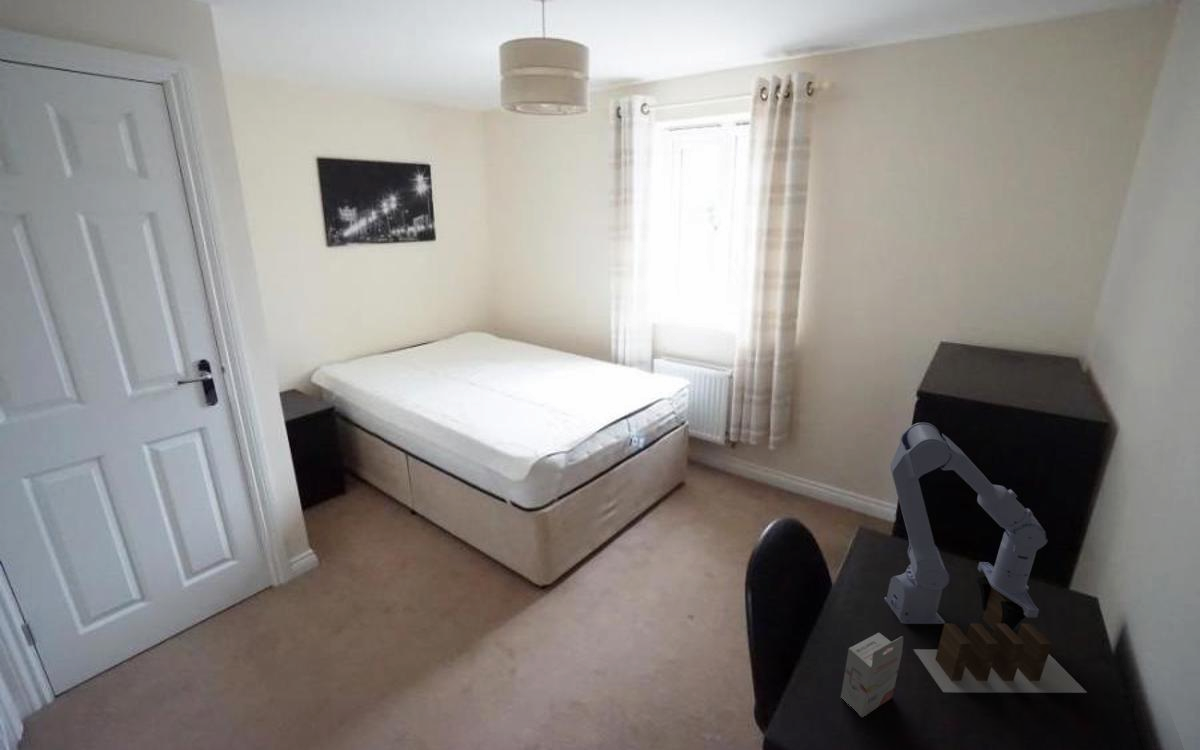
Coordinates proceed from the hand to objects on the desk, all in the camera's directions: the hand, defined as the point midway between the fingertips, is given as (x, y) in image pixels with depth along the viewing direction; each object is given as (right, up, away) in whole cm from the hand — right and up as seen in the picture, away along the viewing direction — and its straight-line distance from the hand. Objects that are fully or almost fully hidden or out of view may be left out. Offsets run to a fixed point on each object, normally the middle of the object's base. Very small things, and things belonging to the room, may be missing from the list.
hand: (997, 619), depth 114 cm
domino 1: (-17, -5, -10) cm, 20 cm away
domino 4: (-2, -5, -10) cm, 11 cm away
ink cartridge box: (-36, -8, -15) cm, 40 cm away
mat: (-7, -6, -10) cm, 14 cm away
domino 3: (-7, -5, -10) cm, 13 cm away
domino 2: (-12, -5, -10) cm, 16 cm away
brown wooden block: (0, -2, +1) cm, 2 cm away
